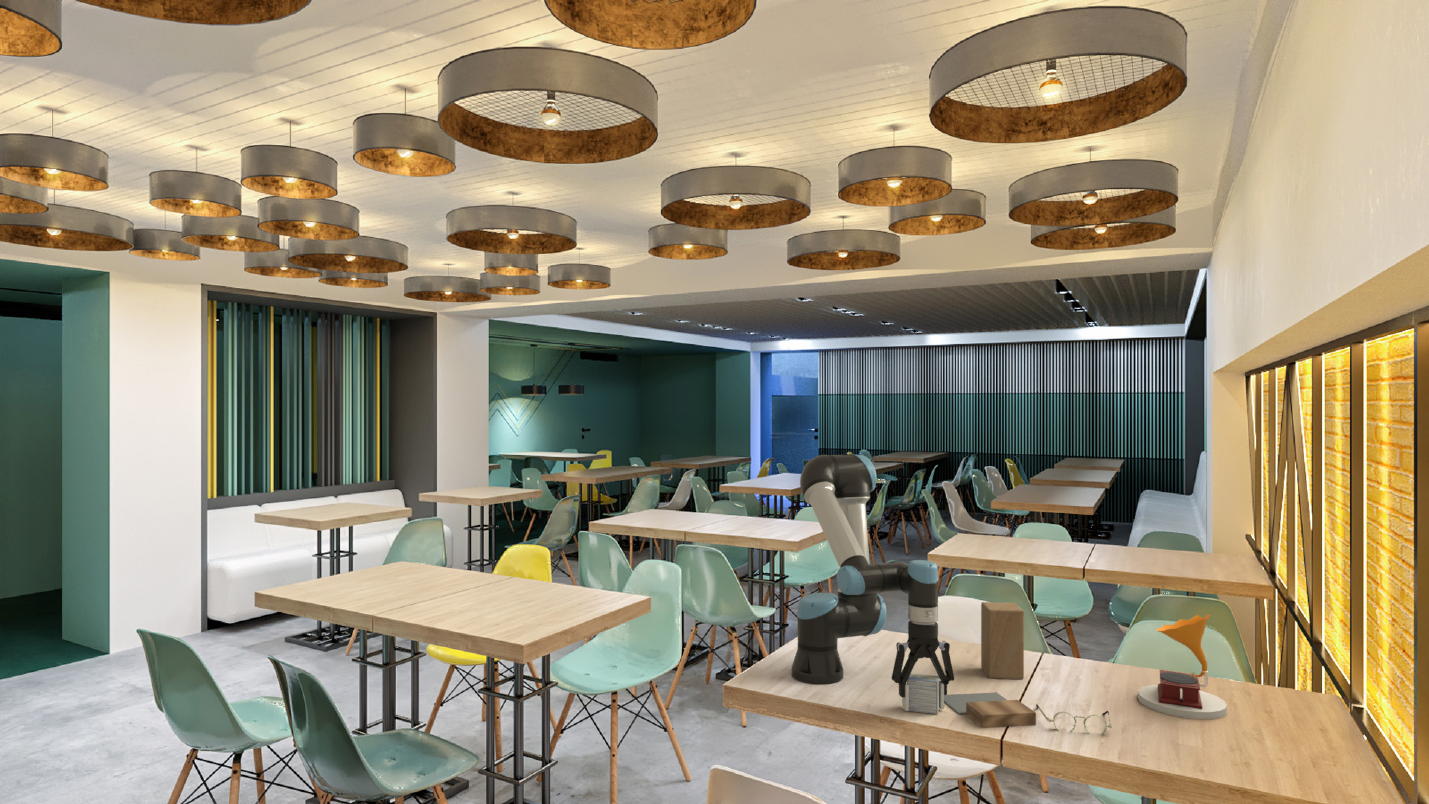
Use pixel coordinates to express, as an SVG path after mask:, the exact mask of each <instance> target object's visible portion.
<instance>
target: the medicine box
mask: <svg viewBox="0 0 1429 804" xmlns="http://www.w3.org/2000/svg"><path fill="white" fill-rule="evenodd" d="M939 681H940V678H939V676H938V675H931V674H921V673H912V672H911V674H910V676H909V678H908V680H907V682H906V684H907V685H909V711H908V712H916V713H922V714H923V713H925V714H932V715H939V710H940V708H939Z"/></svg>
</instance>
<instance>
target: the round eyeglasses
mask: <svg viewBox="0 0 1429 804" xmlns="http://www.w3.org/2000/svg"><path fill="white" fill-rule="evenodd" d="M1035 707H1036V709H1037V710H1039V711H1040V713H1041V714H1042V715H1043V717H1044V719H1046V721H1048V723H1052V722H1053V725H1054V728H1055V731H1060V729H1059V728H1058V727H1057V726H1056V725H1055V718H1056V717H1057V716H1058V715H1060V714H1068V715H1069V716H1071V717H1072V719H1073V720H1074V724H1073V725H1072V726H1073V728H1072V729H1071V730H1070V731H1069V732H1070V733H1071V732H1073V731H1075V728H1076V723H1077V720H1076V718H1079V719H1083V728H1084V729H1085V731H1086V733H1088V735H1090V734H1091V733H1090V732H1089V731H1088V730H1087V729H1086V728H1087V726H1086V721H1087V720H1088V719H1089V718H1090V717H1097V718H1101V719H1102V720H1103V722H1104V723H1105V727H1104V730H1102V732H1100V735H1101V736H1104V735H1105V733H1106V732H1107V728H1110V729H1112V728H1113V725H1112V724H1113V723H1112V721H1111V715H1110V712H1109V710H1106V711H1105V712H1102V716H1106V715H1107V714H1108V720H1109V723H1108V724H1107V722H1106V720H1105V719H1104V717H1102V716H1101V715H1099V714H1090V715H1088V716H1087V717H1085V716H1077V715H1075V716H1073V715H1072V714H1071V713H1069V712H1068V711H1065V710H1064V711H1063V710H1062V711H1057V713H1055V714H1054V715H1053V719H1051V718H1049V716H1047V715H1046V714H1045V712H1044V711H1043V710H1042V708H1041V707H1040V706H1039V704H1037V703H1036V705H1035Z"/></svg>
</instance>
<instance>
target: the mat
mask: <svg viewBox="0 0 1429 804" xmlns="http://www.w3.org/2000/svg"><path fill="white" fill-rule="evenodd" d="M1003 700H1008V699H1007V698H1005V697H1004V696H1002V695H1001V694H1000V693H998V692H997V691H996V692H993V691H992V692H977V693H976V692H974V693H972V692H971V693H955V694H952V693H951V694H947V695H944V704H946V705H947V706H948V707H949V708H950V709H952V710H953V711H954V712H955V713H956V714H957V715H967V714H966V702H982V701H1003Z"/></svg>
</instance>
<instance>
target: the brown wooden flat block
mask: <svg viewBox="0 0 1429 804" xmlns="http://www.w3.org/2000/svg"><path fill="white" fill-rule="evenodd" d="M965 715H967V716H968V717H969V718H970V719H972V720H973V721H974V722H975V723H976V724H977V725H979V726H980V727H981V728H1000V727H1003V728H1004V727H1020V726H1036V725H1037V712H1036V711H1034V710H1033V709H1031V708H1030V707H1028V706H1027V705H1025V703H1023V702H1022V701H1020V700H1019V699H1007V700H1003V701H982V702H966V714H965Z"/></svg>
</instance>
